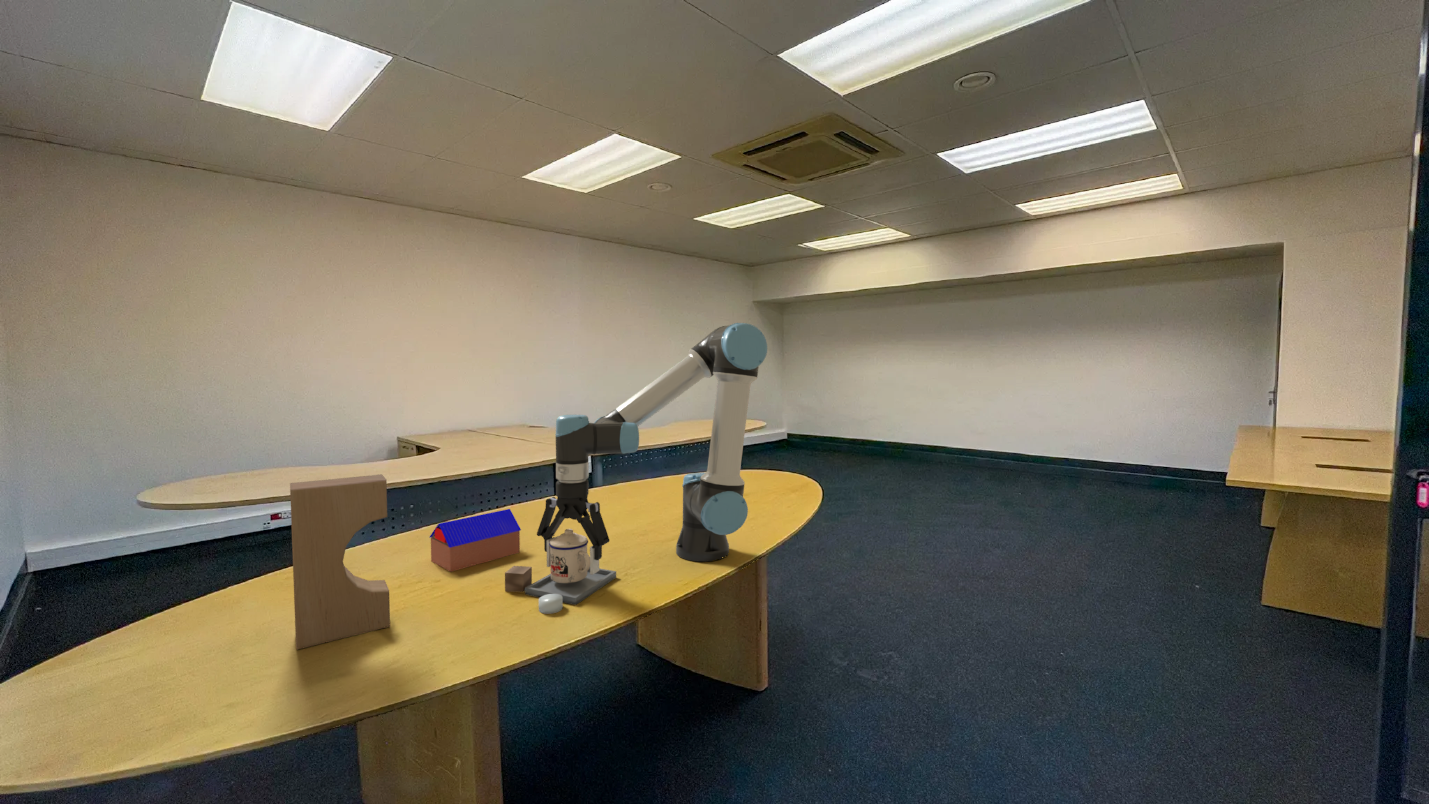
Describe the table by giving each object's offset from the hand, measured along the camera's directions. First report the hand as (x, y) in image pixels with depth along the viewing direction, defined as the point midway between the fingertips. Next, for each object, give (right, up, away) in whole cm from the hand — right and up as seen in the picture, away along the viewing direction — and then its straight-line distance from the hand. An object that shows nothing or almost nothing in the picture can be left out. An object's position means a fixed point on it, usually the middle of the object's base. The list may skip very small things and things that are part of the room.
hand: (572, 568), depth 130 cm
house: (-32, -3, +19) cm, 37 cm away
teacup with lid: (0, -3, 0) cm, 3 cm away
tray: (0, -4, 0) cm, 4 cm away
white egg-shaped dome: (-2, -5, -12) cm, 13 cm away
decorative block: (-39, -5, -23) cm, 46 cm away
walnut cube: (-13, -4, -1) cm, 13 cm away
